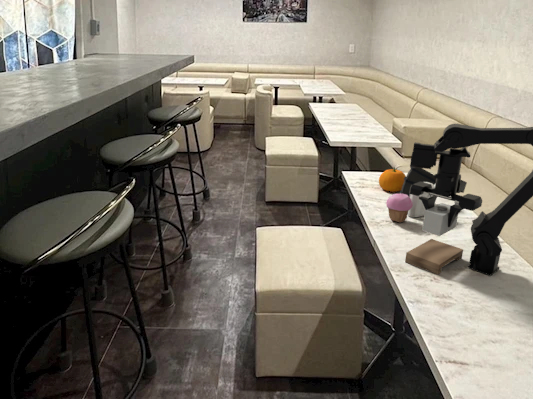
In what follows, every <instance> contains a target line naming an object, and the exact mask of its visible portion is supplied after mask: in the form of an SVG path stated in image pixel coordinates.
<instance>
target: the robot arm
mask: <svg viewBox="0 0 533 399" xmlns="http://www.w3.org/2000/svg"><path fill="white" fill-rule="evenodd" d="M481 144H482V145H489V144H490V145H495V144H496V145H497V144H498V145H499V144H501V145H505V144H506V145H508V144H509V145H531V147H533V126H530V127H529V126H528V127H476V126H473V125H471V126H470V125H466V124H460V123H451V124H448V125H447V126H446V127H445V128H444V130H443V131H442V136H441V137H440V138H438V140H435V142H434V144H431V143H430V144H428V143H420V142H414V143H413V148H412V153H411V157H410V164H409V168H410V167H416V168H422V169H424V170H426V169H428V170H431V169H432V168H434V167H436V165H437V159H438V155H439V159H438V166H437V172H436V173H435V174H434V175H435V177H434V178H436V183H435V185H434V186H435V188H432V186H431V184H428V183H424V182H418V183H415V184H413V185H411V187H410V191H409V193H410V194H412V195H416V196H419V195H420V197H419V199H420V200H421V201H422V203H423V205H424V207H425V210H428V209H430V208H432V207H434V206H436V205H435V204H436V200H437V198H441V199H445V200H448V201H452V202H454V204H452V205H451V206H450V212H449V218H448V227H451V225H452V224H453V222H454V220H455V219H456V217H457V215H458V216H459V213H461V211H463V210H467V211H471V212H472V211H476V210H477V209H480V208H481V207H482V205H483V198H482V196H479V195H475V194H472V193H466V194H464V193H465V189H466V186H467V184H468V183H467V181H464V180H462V174H461V168H462V161H463V158H469V159H470V158H471V153H470V152H469V151H468V150H467V148H468V147H471V146H477V145H481ZM460 193H463V194H464V195H460ZM532 198H533V169H532V170H531V172H530V173H529V174H528V175H527V176H526V177H525V178H523V180H522V181H521V182H520V183H519V184H518V185H517V186H516V188H514V190H512V191H511V192H510V193H509V195H507V196H506V197H505V199H504V200H502V202H501V203H500V204H498V206H496V208H494V209H493V210H492V211H490V212H489V213H485V212H484V211H481V212H480V213H479V215H477V217H476V218H474V219H472V224H471V226H470V232H471V233H470V234H471V238H472V241H473V243H474V244H475V245H474V246H473V249H472V250H471V251H470V256H469V262H468V263H469V265H468V266H467V268H468V269H470V270H474V271H477V272H479V273H482V274H485V275H488V276H492V275H494V274H495V273H496V272H497V271H499V270H500V266H499V262H500V257H501V254H502V253H501V252H502V251H503V249H502V246H501V241H500V239H499V236H500V234H501V232H502V230H503V228H504V226H505V225H506V223H507V222H508V221H509V220H510V219H512V217H513V216H514V215H515V214H516V213H517V212H519V210H520V209H522V207H523V206H525V204H526V203H528V202H529V201H530V200H531V199H532Z"/></svg>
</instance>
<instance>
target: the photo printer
mask: <svg viewBox="0 0 533 399" xmlns="http://www.w3.org/2000/svg"><path fill="white" fill-rule="evenodd" d="M424 183H428V184H431V186H432V188H435V185H433V184H432V183H429V182H424ZM419 197H420V195H419V196H416V195H412V194H410V197H409V198H411V200H412V202H413V206H412V208H411V209H410V210H408V214H407V217H410V218H420V217H424V215H425V207H424V205H423V203H422V201H421V200H420V199H419Z"/></svg>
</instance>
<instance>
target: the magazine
mask: <svg viewBox="0 0 533 399" xmlns="http://www.w3.org/2000/svg"><path fill="white" fill-rule="evenodd" d="M409 168H410V169H409V170H408V172H407V174H406V175H405V176H406V177H404V183H403V186H402V190H400V191H399V194H406V195H408V196H409V197H410V193H409V191H410V187H411V185H413V184H415V183H418V182H429V183H432V184H433V185H434V186H435V184H436V178H434V177H435V174H434V173H431V172H429V171H428V170H426V169H425V168H416V167H410V166H409Z"/></svg>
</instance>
